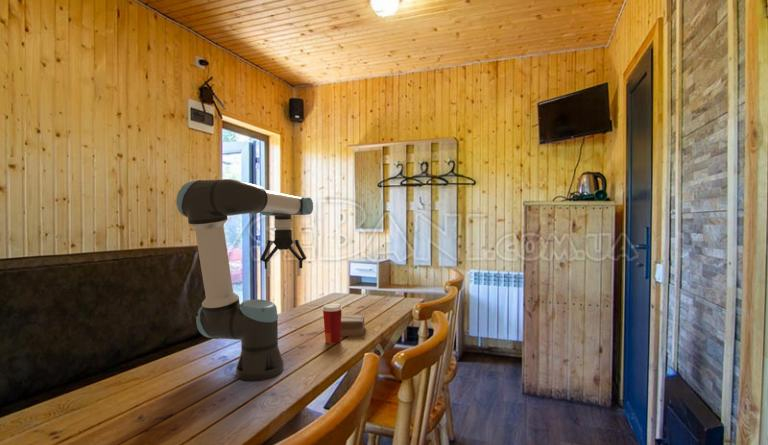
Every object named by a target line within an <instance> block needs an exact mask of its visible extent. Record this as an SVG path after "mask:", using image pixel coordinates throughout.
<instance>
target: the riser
mask: <svg viewBox="0 0 768 445" xmlns="http://www.w3.org/2000/svg"><path fill="white" fill-rule="evenodd" d="M364 331H365V314H341V334H340V337H359V336H360V337H361V336H364Z"/></svg>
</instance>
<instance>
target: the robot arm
mask: <svg viewBox="0 0 768 445" xmlns="http://www.w3.org/2000/svg"><path fill="white" fill-rule="evenodd" d="M176 207H177V210H178V212H179V213H180V214H181V215H182V216H184V217H186V218H187V221H188V225H189V226H191V227H192V228H193V229H194V232H195V237H196V244H197V249H198V256H199V263H200V269H201V275H202V281H203V282H202V283H203V288H204V294H205V298H204V300H203V301H202V302H201V307H200V308H199V309H198V311H197V314H198V315H196V317H195V321H196V327H197V330H198V332H199V333H200V335H202V336H204V337H206V338H210V339H214V340H220V339H221V340H222V339H223V340H234V341H235V340H237V341H240V342H241V344H240V347H241V350H240V351H241V352H240V355H239V358H238V360H237V361H238V362H237V365H236V369H235V375H236V377H237V378H238V379H239V380H242V381H247V382H253V381H254V382H255V381H262V380H268V379H270V378H274V377H276V376H278V375H280V374H282V373H283V371H284V368H285V363H284V359H283V356H282V353H281V351H280V348H279V342H278V341H279V338H278V337H279V334H278V333H279V331H278V324H279V323H278V318H279V316H278V307H277V305H276V304H275V303H274V302H273V301H270V300H266V299H246V300H244V301H242V302H240V297H239V294H237V293H235V292H234V288H233V282H232V273H231V269H230V268H231V267H230V261H229V255H228V247H227V239H226V234H225V233H226V232H225V226H224V225H225V224H226V222H227V221H228V216H237V215H245V214H246V215H247V214H253V215H254V214H260V215H263V216H266V217H270V216H271V217H272V216H273V218H274V220H273V221H274V225H273V226H274V227H273V228H274V229H275V230H274V240H271V239H268V240H267V242H266V247H265V248H264V250H263V252H262V254H261V257H260V259H259V260H260V261H261V262H264V270H266V277H271V261H270V260H271V259H272V257H273V256H274V255H275V253H276V252H277V251H278V250H280V251H281V250H285V251H286V250H289V251H290V252H291V253H292V255H293V256H294V257H295V258H296V259H297V262H296V266H297V269H296V270H297V271H296V272H297V273H296V274H297V277H300V276H301V269H303V262H304V261H306V260H307V256H306V254H305V252H304V251H303V248H302V247H301V244H300V240H299V239H298V238H297V239H294V240H293V238H292V237H293V231H292V225H293V224H292V223H293V222H292V216H307V215H311V214H312V213H313V210H314V202H313V200H312V198H311V197H310V196H309V197H308V196H295V195H289V194H285V193H281V192H277V191H276V192H275V191H272V190H267V189H265V188H264V187H263V186H262V185H258V184H254V183H249V182H246V181H241V180H237V179H231V178H229V179H228V178H223V179H222V178H221V179H205V180H204V179H202V180H201V179H199V180H191V181H188V182H185V183H184V184H183V185H181V187H180V189H179V190H178V192H177V195H176ZM273 244H274V247H273V249H272V250H271V251H270V249H271V247H272V245H273ZM293 244H294V245H295V247H296V249H297V250H298V252H299V253H298V252H297V251H296V250H295V249H294V247H293V246H292V245H293ZM269 251H270V253H269V254H268V252H269ZM299 254H300V255H299Z"/></svg>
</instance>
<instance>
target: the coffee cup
mask: <svg viewBox="0 0 768 445" xmlns="http://www.w3.org/2000/svg"><path fill="white" fill-rule="evenodd" d="M342 309H343V307H342V305H341V304H339V303H327V304H324V305H323V307H322V309H321V310H322V313H323V325H324V327H323V328H324V338H325V343H326V344H328V345H334V344H338V343H340V342H341V336H340V334H341V315H342Z"/></svg>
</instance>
